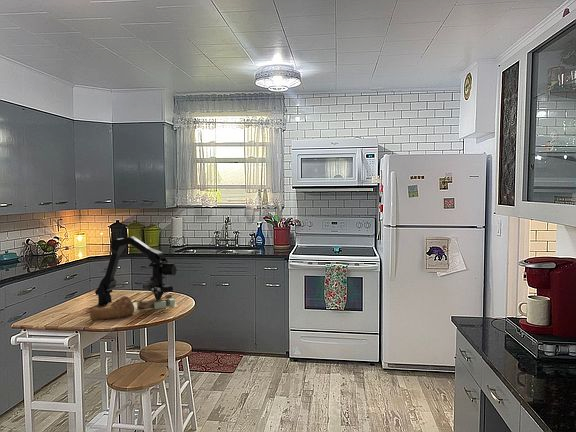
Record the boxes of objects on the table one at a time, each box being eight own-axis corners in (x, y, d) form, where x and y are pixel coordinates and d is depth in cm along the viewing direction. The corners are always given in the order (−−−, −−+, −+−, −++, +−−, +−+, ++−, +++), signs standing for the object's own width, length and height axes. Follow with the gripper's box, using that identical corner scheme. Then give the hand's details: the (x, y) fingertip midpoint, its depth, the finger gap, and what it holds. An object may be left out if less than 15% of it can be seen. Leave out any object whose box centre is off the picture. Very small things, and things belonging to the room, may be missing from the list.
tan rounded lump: (127, 328, 234) (138, 312, 248) (125, 310, 230) (136, 294, 244) (91, 327, 235) (104, 311, 249) (87, 309, 232) (101, 293, 246)
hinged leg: (138, 309, 252) (138, 302, 252) (136, 307, 256) (136, 301, 256) (168, 305, 261) (168, 298, 260) (166, 303, 264) (166, 297, 264)
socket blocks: (154, 308, 254) (154, 302, 254) (152, 306, 260) (152, 300, 260) (175, 306, 258) (175, 300, 258) (173, 303, 264) (173, 298, 264)
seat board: (134, 313, 250) (134, 305, 249) (130, 304, 269) (130, 297, 268) (178, 308, 259) (178, 300, 259) (171, 300, 278) (171, 293, 278)
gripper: (134, 275, 260) (135, 303, 261) (157, 278, 250) (158, 308, 251) (150, 272, 269) (151, 299, 270) (173, 275, 259) (173, 303, 260)
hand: (158, 302), depth 263 cm, fingers closed
